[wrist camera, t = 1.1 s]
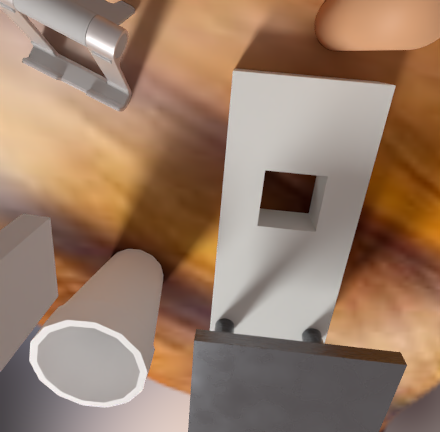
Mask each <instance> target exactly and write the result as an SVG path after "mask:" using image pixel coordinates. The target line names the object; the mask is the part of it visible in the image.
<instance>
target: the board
mask: <svg viewBox="0 0 440 432" xmlns="http://www.w3.org/2000/svg"><path fill="white" fill-rule="evenodd" d="M395 87H396V85H391V84H387V83H382V82H378V81H367V80H356V79H345V78H334V77H323V76H312V75H301V74H290V73H279V72H268V71H257V70H246V69H234V70H233V77H232V88H231V99H230V110H229V122H228V133H227V144H226V155H225V166H224V178H223V189H222V200H221V211H220V222H219V234H218V245H217V256H216V267H215V278H214V290H213V301H212V312H211V323H210V331H214V330H215V323H216V322H217V321H218V320H219V319H223V318H226V319H229V320H231V321H232V322H233V323H234V334H243V335H252V336H261V337H269V338H278V339H287V340H296V341H302V333H303V332H304V331H305V330H306V329H310V328H314V329H317V330H319V331H320V332H321V335H322V339H323V343H325V340H326V336H327V332H328V329H329V325H330V322H331V318H332V314H333V311H334V307H335V304H336V300H337V296H338V293H339V289H340V285H341V282H342V278H343V275H344V271H345V267H346V264H347V260H348V257H349V253H350V249H351V246H352V242H353V238H354V235H355V231H356V228H357V224H358V220H359V217H360V213H361V210H362V206H363V202H364V199H365V195H366V191H367V188H368V184H369V181H370V177H371V173H372V170H373V166H374V163H375V159H376V155H377V152H378V148H379V144H380V141H381V137H382V134H383V130H384V126H385V123H386V119H387V116H388V112H389V108H390V105H391V101H392V97H393V94H394V90H395ZM265 170H267V171H277V172H287V173H297V174H307V175H317V176H316V180H315V185H314V190H313V195H312V200H311V205H310V209H309V213H299V212H289V211H280V210H270V209H260V204H261V197H262V190H263V182H264V175H265Z"/></svg>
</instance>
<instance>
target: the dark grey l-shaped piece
mask: <svg viewBox="0 0 440 432" xmlns="http://www.w3.org/2000/svg"><path fill="white" fill-rule="evenodd" d="M406 366H407V364H406V362H405V360H404V358H403V356H402V354H401V353H400V352H392V351H383V350H375V349H366V348H357V347H348V346H340V345H331V344H324V343H323V339H322V335H321V332H320V331H319V330H317V329H314V328H310V329H306V330H305V331H304V332H303V333H302V341H296V340H287V339H278V338H269V337H261V336H252V335H243V334H234V323H233V322H232V321H231V320H229V319H226V318H223V319H219V320H218V321H217V322H216V323H215V330H214V331H208V330H199V329H196V334H195V339H194V352H193V367H192V382H191V397H190V413H189V428H188V432H379V430H380V427H381V425H382V423H383V420H384V418H385V416H386V413H387V411H388V409H389V406H390V404H391V401H392V399H393V397H394V394H395V392H396V390H397V387H398V385H399V383H400V380H401V378H402V376H403V373H404V371H405V369H406Z"/></svg>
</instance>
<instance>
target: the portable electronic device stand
mask: <svg viewBox="0 0 440 432" xmlns="http://www.w3.org/2000/svg"><path fill="white" fill-rule="evenodd" d="M0 9H1V10H2V11H3V12H4V13H5V14H6V15H7V16H8V17H9V18H10V19H11V20H12V21H13V22H14V23H15V24H16V25H17V26H18V27H19V28H20V29H21V30H22V32H23V33H24V34H25V35H26V36H27V37H28V38H29V39H30V40H31V43H32V44H33V48H32V51H31V53H30V55H29V57H27V58H23V61H22V62H23V63H25V64H27V65H28V66H30V67H32V68H34V69H36V70H38V71H40V72H42V73H44V74H46V75H48V76H50V77H52V78H54V79H56V80H60V81H63V82H65V83H67V84H69V85H71V86H73V87H75V88H77V89H79V90H81V91H82V92H84V93H86V95H88V96H89V97H91V98H93V99H95V100H97V101H99V102H101V103H103V104H105V105H107V106H109V107H111V108H113V109H115V110H117V111H124V110H125V109H126V107H127V105H128V103H129V101H130V98H131V94H132V92H131V90H130V87H129V85H128V83H127V81H126V79H125V77H124V75H123V72H122V70H121V68H120V60H121V58H122V55H123V53H124V51H125V48H126V46H127V42H128V31H127V30H126V29H124V28H123V27H121V26H119V25H120V24H121V23H123V22H124V21H125V20H126V19H128V18H129V17H130V16H132V15H133V14H134V13H135V8H134V7H132V6H131V5H129V4H127V3H125V2H123V1H119V2H117V3H114V4H113V3H109V2H107V1H105V0H0ZM27 16H29V17H31V18H32V19H34V20H36V21H38V22H40V23H42V24H44V25H46V26H48V27H50V28H51V29H53V30H55V31H57V32H59V33H61V34H63V35H65V36H67V37H68V38H70V39H72V40H74V41H76V42H78V43H80V44H82V45H84V46H86V47H87V48H88V49H89V51H90V53H91V54H92V56H93V58H94V59H95V61H96V62H97V64H98V66H99V67H100V69H101V70H102V72H103V74H104V75H105V77H106V78H105V77H103V76H101V75H99V74H97V73H95V72H93V71H91V70H89V69H87V68H85V67H83V66H82V65H80V64H78V63H76V62H74V61H72V60H70V59H68V58H66V57H64V56H62V55H60V54H59V53H57V51H56V50H55V49H54V48H53V47H52V46H51V44H50V43H49V42H48V41H47V40H46V39H45V37H44V36H43V35H42V34H41V33H40V32H39V30H38V29H37V28H36V27H35V26H34V25H33V23H32V22H31V21H30V20H29V19H28V17H27Z"/></svg>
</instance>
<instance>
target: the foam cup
mask: <svg viewBox="0 0 440 432" xmlns="http://www.w3.org/2000/svg"><path fill="white" fill-rule="evenodd" d="M163 276H164V275H163V271H162V268H161V265H160V263H159V262H158V261H157V260H156V259H155V258H154V257H153V256H152V255H150V254H148V253H146V252H144V251H142V250H138V249H125V250H123V251H120V252H117V253H116V254H115V255H114V256H113V257H112V258H111V259H110V260H109V261H108V262H107V263H106V264H105V265H104V266H103V267H102V268H101V269H100V270H99V271H98V272H97V273H96V274H95V275H94V276H93V277H92V278H91V279H90V280H89V281H88V282H87V283H86V284H85V285H84V286H83V287H82V288H81V289H80V290H79V291H78V292H77V293H76V294H74V295H73V296H72V297H71V298H70V299H69V300H68V301H67V302H66V303H65V304H64V305H62V306H59V307H58V308H57V309H56V311H55V312H54V313H53V314H52V315H51V316H50V317H49V319H48V320H47V321H46V322H45V324H44V325H43V326H42V328H41V329H40V330H39V332H38V333H37V334H36V336H35V337H34V338H33V340H32V341H31V344H30V360H29V361H30V363H31V365H32V366H33V369H34V371H35V372H36V374H37V376H38V378H39V379H40V381H42V382H43V383H44V384H45V385H46V386H48V387H49V388H50V389H51V390H53V391H54V392H55V393H56V394H57V395H58V396H61V397H63V398H66V399H69V400H71V401H73V402H75V403H78V404H80V405H86V406H96V407H106V408H107V407H111V406H114V405H119V404H123V403H128V402H129V401H130V400H132V399H133V398H134V397H135V396H136V395H138V394H139V393H140V392H141V391H142V390H143V388H144V384H145V381H146V378H147V375H148V372H149V369H150V365H151V361H152V358H153V354H154V350H155V349H154V346H153V342H154V336H155V329H156V323H157V316H158V310H159V303H160V297H161V290H162V284H163Z"/></svg>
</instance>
